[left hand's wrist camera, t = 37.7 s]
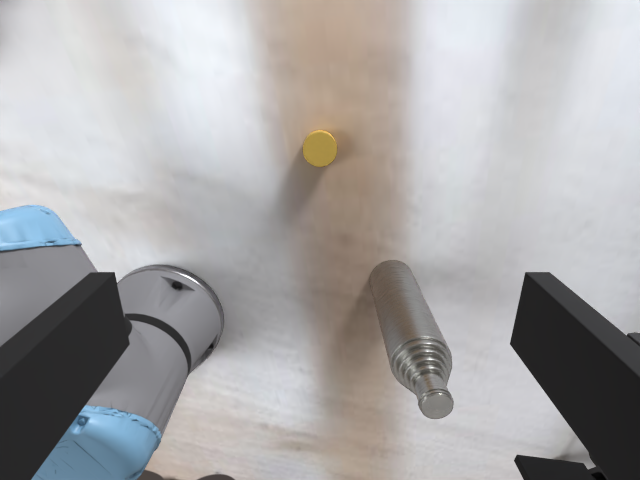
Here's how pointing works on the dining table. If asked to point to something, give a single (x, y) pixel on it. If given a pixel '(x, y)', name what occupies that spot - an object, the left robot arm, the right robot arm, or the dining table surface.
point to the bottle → (412, 338)
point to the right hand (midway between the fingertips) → (550, 413)
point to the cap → (319, 148)
